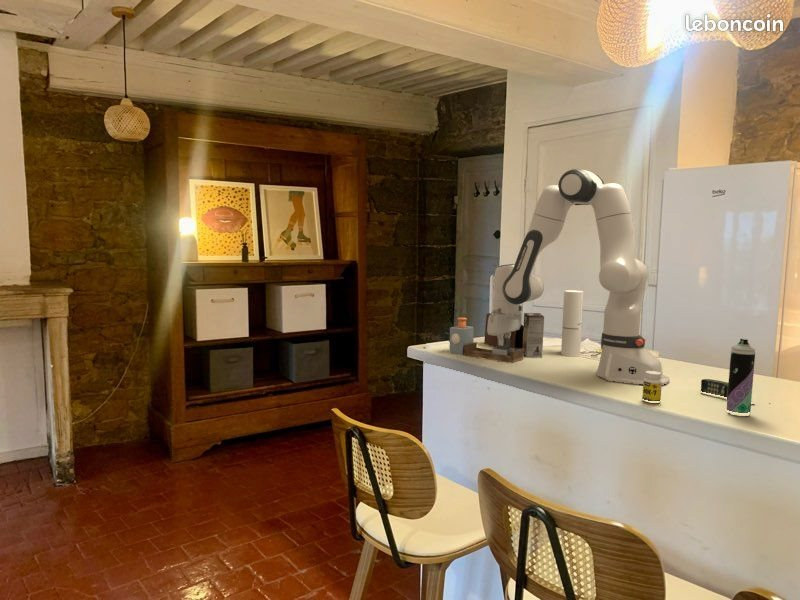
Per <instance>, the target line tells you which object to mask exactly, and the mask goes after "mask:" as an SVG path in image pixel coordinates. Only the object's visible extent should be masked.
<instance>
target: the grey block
mask: <svg viewBox="0 0 800 600" xmlns="http://www.w3.org/2000/svg"><path fill="white" fill-rule="evenodd" d="M474 332H475V327H474V326H470V325H469V326H468V325H466V328H458V325H456V326H451V327H449V352H450V353H449V352H448V353H449V354H454V355H460V356H465V355H464V345H466V344H469V343H473V342H475V340H474V335H475V333H474Z"/></svg>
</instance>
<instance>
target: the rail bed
mask: <svg viewBox="0 0 800 600" xmlns="http://www.w3.org/2000/svg"><path fill="white" fill-rule="evenodd" d="M477 343H478V342H475V341H474V342H473V343H469V344H466V345H464V355H463V356H466V357H471V358H472V357H473V358H479V359H484V360H485V359H486V360H491V361H497V362H498V361H499V362H505V363H510V364H514V363H517V362H520V361H523V360H524V354H523V349H519V350H515V351H512V352H511V357H509V356H502V355H496V354H492V349H488V348H483V347H478V344H477Z"/></svg>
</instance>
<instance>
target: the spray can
mask: <svg viewBox="0 0 800 600" xmlns="http://www.w3.org/2000/svg"><path fill="white" fill-rule="evenodd" d="M739 340H740V341H738V343H737V344H735V345H734V346H732V347H731V350H730V359H729V371H728V396H727V400H726V409H727V410H729V411H732V412H738V413H748V412H750V413H751V410H752V409H751V408H752V404H751V402H752V400H753V399H752V398H753V397H752V395H753V384H754V375H755V374H754V372H755V359H756V349H755V348H754V347H752V346H751V344H750V343H749V339H745V338H744V339H743V338H740V339H739Z"/></svg>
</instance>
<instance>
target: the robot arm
mask: <svg viewBox="0 0 800 600" xmlns="http://www.w3.org/2000/svg"><path fill="white" fill-rule="evenodd" d="M589 205H590V206H591V207H592V208H593V213H594V217H595V223H596V228H597V235H598V239H599V248H600V250H599V254H600V255H599V258H600V259H599V264H600V265H599V267H600V269H599V274H598V281H599V283H600V285H601V286H602V288H603V289H605V290H606V291H608V292H609V295H608V299H607V302H606V305H605V307H604V311H603V313H604V314H603V328H602V329H603V332H602V333H601V338H600V349H601V353H600V358H599V362H598V366H597V369H596V372H595V374H596V376H598V377H599V378H602V379H604V378H605V379H606V381H607V380H608V381H607V382H613V381H615V383H622V382H624V384H630V383H633V385H639V384H643V381H644V378H646V377H645V373H646V371H656V372H660V373H661V378H660V380H661V381H662V385H663V386H665V385H664V384H666V385H668V384H669V383H670V382H669V381H671V380H670V377H669V376H667V375H663V373H664V371H663V365H662V363H661V362H662V361H661V360H660V359H659V358H657V357H656V356H655V355H654V354H653V353H651V352H650V351H649V350H648V349H647V348H645V345H646V341H647V340H646V339H647V338H646V337H643V336H642V335H640V323H641V311H642V304H643V301H644V297H645V296H644V295H645V291H646V285H647V280H648V278H649V271H648V268H647V266H646V265H645V263H643V262H642V261H640V260H639V259H637V258H636V254H635V252H636V251H635V249H636V248H635V245H636V244H635V243H636V232H635V227H634V221H633V216H632V210H631V206H630V202H629V199H628V196H627V195H626V191H625V189H624V187H623V186H622V185H621V184H618V183H615V182H611V183H605V182H604V180H603V179H602V178H601V177H600V175H598V174H596V173H593V172H592V171H590V170H586V169H581V168H572V169H570V170H569V169H568V170H567V171H565V172H564V173H563V174H562V175H561V177H560V179H559V181H558V184H552V185H548V186H545V188H543V190H542V192H541V194H540V196H539V198H538V200H537V203H536V205H535V208H534V210H533V214H532V218H531V221H530V224H529V227H528V230H527V232H526V234H525V237H524V240H523V241H522V244H521V246H520V249H519V251H518V252H519V253H518V255H517V258H516V259H515V263H510V264H509V263H508V264H501V265H499V266H497V267H496V268H495V272H494V279H493V291H494V294H493V299H492V300H493V301H492V311H491V312H490V313H491V314H490V316H489V318H488V326H487V333H488V335H493V336H497V338H498V340H499V345H501V346H503V345H504V344H505V341H504V339H503V336H504V334H505V337H506V338H510V336H511V332H512V331H516V330H519V329H520V327H521V325H522V316H523V315H522V312H523V305H522V304H524V303H526V302H531V301H534V300H537V299H539V298H540V297H541V296H542V295H543V293H544V288H545V285H544V282H543V280H542V278H541V277H540V276H538V275H536V274H533V273H532V272H533V270H534V267H535V264H536V262H537V258H538V256H539V255H540V253H541V252H542V251H543V249H545V248H546V247H548V246H549V245H551V244H552V243H554V242H555V241H557V239H559V236H560V234H561V232H562V231H563V228H564V224H565V221H566V219H567V216H568V212H569V210H570V208H571V207H572V206H589ZM605 379H604V380H605ZM668 382H669V383H668ZM667 383H668V384H667Z"/></svg>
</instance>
